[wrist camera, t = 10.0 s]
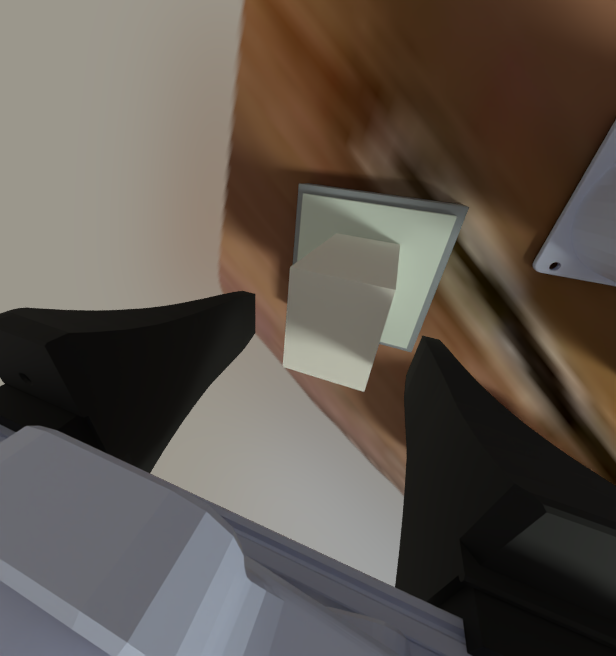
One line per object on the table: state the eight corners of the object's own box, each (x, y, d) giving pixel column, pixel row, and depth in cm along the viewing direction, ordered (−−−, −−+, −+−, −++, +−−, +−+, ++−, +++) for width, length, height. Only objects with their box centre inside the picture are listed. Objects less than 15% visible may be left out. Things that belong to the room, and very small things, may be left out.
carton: (400, 244, 16) (395, 290, 9) (379, 315, 18) (364, 392, 12) (336, 233, 16) (290, 266, 10) (325, 302, 19) (282, 366, 12)
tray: (462, 204, 16) (470, 207, 14) (410, 338, 21) (411, 355, 19) (308, 183, 18) (296, 183, 16) (296, 309, 23) (286, 322, 21)
